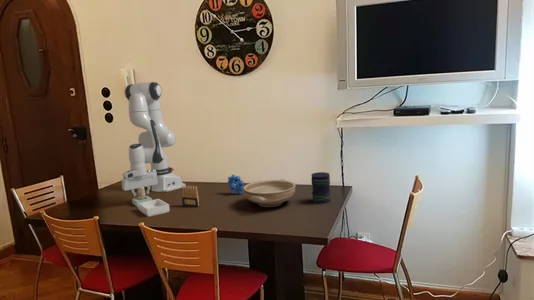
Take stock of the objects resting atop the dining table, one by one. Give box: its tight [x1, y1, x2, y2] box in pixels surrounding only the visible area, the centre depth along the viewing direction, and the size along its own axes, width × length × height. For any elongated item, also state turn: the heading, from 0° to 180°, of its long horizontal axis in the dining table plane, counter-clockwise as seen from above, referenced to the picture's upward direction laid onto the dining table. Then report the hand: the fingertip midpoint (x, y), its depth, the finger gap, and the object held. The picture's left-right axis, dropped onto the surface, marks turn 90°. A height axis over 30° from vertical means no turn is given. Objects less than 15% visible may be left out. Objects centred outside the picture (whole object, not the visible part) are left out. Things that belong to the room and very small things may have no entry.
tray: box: [137, 198, 171, 218], centre depth 229 cm, size 12×16×4 cm
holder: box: [131, 195, 153, 208], centre depth 246 cm, size 9×9×3 cm
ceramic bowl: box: [242, 178, 296, 208], centre depth 228 cm, size 37×29×10 cm
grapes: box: [227, 174, 245, 195], centre depth 251 cm, size 12×7×12 cm, turn 65°
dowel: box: [136, 187, 146, 200], centre depth 245 cm, size 4×4×10 cm
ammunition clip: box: [181, 185, 201, 208], centre depth 233 cm, size 11×2×12 cm, turn 65°
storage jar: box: [311, 171, 332, 205], centre depth 225 cm, size 10×10×15 cm
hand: (141, 195), depth 245 cm, fingers open, 6 cm apart
